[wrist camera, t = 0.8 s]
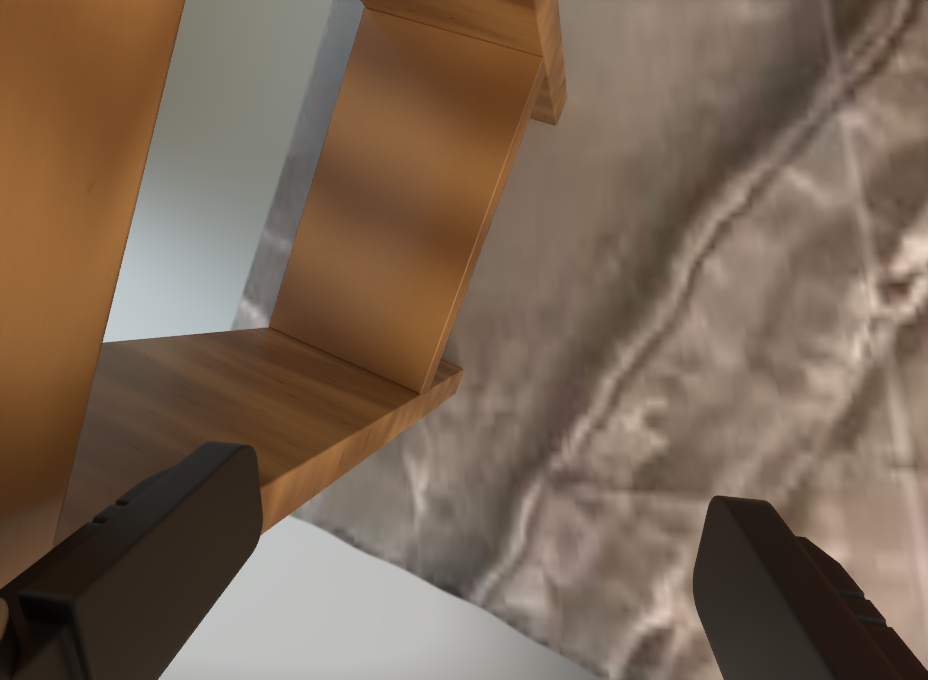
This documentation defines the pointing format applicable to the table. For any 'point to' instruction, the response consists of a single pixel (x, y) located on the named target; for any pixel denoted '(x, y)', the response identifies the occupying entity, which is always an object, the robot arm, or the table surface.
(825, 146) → the table surface
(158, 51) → the oak stand
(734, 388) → the table surface
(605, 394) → the table surface
